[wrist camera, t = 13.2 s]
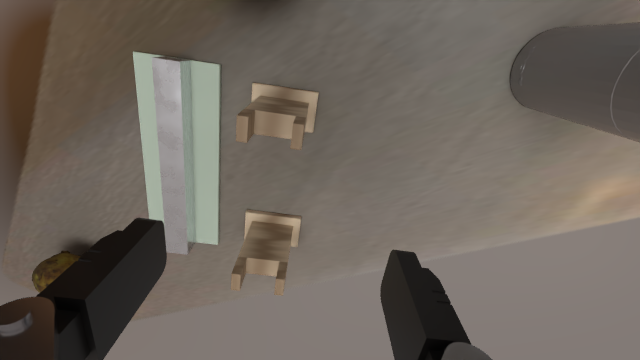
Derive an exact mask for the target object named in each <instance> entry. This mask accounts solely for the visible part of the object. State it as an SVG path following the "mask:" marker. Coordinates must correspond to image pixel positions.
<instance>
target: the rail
mask: <svg viewBox="0 0 640 360" xmlns="http://www.w3.org/2000/svg"><path fill="white" fill-rule="evenodd" d="M152 70H153V83H154V96H155V109H156V122H157V135H158V148H159V161H160V174H161V187H162V200H163V213H164V226H165V239H166V252H170V253H179V254H187V255H188V254H189V252H190V250H191V249H192V247H193V246H194V244H195V242H196V232H195V197H194V161H193V126H192V91H191V60H186V59H179V58H172V57H166V56H163V57H152Z"/></svg>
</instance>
